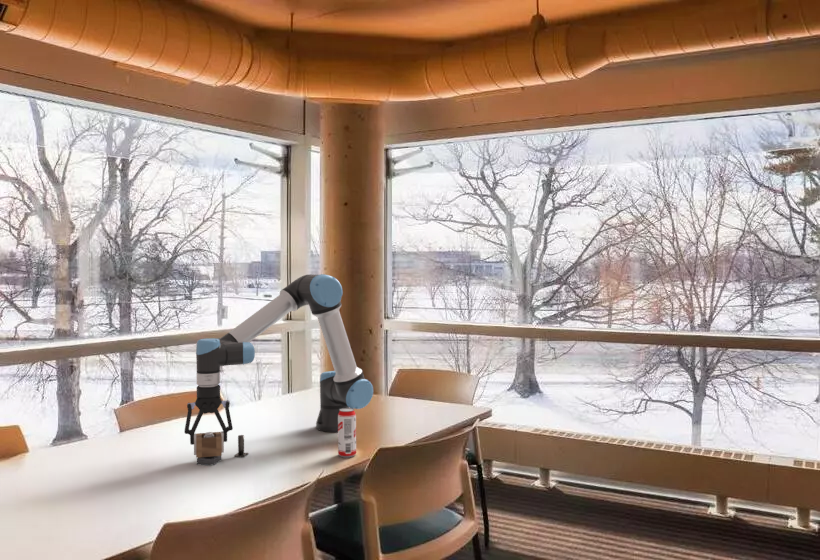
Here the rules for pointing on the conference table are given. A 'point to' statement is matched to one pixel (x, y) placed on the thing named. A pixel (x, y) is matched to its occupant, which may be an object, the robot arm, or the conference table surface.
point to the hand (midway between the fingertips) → (208, 452)
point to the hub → (209, 460)
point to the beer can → (347, 432)
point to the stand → (241, 447)
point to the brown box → (208, 445)
